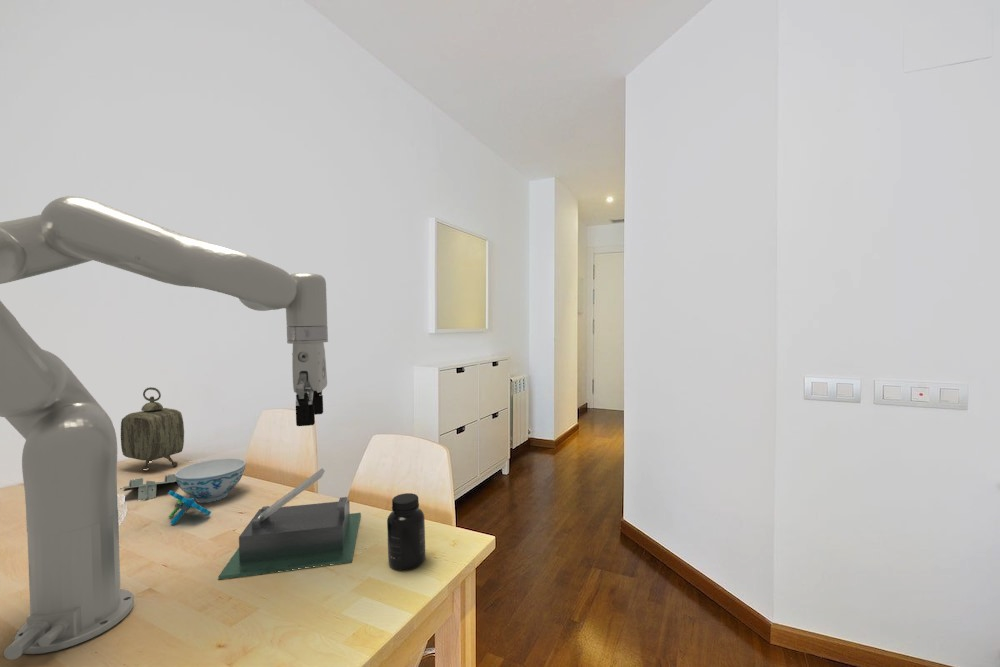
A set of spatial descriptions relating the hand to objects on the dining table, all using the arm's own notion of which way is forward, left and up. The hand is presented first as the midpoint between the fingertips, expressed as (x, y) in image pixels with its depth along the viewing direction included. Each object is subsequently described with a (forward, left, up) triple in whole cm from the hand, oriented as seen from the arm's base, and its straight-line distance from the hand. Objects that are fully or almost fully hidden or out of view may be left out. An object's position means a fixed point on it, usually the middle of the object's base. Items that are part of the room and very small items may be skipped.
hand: (310, 419), depth 87 cm
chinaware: (+30, +29, -25) cm, 49 cm away
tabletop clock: (+58, +57, -25) cm, 85 cm away
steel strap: (0, +4, -16) cm, 16 cm away
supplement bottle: (-12, -19, -25) cm, 34 cm away
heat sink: (0, +2, -25) cm, 25 cm away
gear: (+17, +30, -25) cm, 43 cm away
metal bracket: (+38, +46, -26) cm, 65 cm away
